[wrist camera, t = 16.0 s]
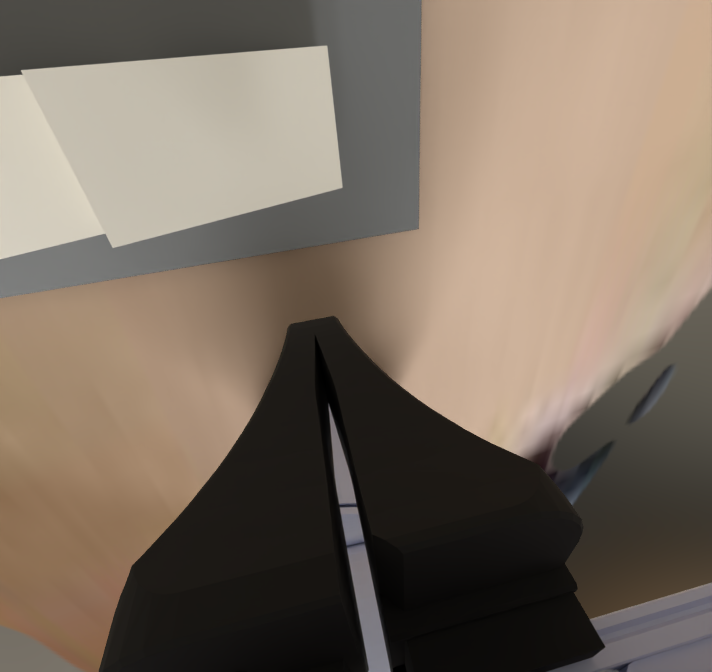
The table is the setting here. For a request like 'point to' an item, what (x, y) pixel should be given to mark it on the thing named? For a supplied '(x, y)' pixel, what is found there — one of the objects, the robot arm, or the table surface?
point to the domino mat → (234, 35)
